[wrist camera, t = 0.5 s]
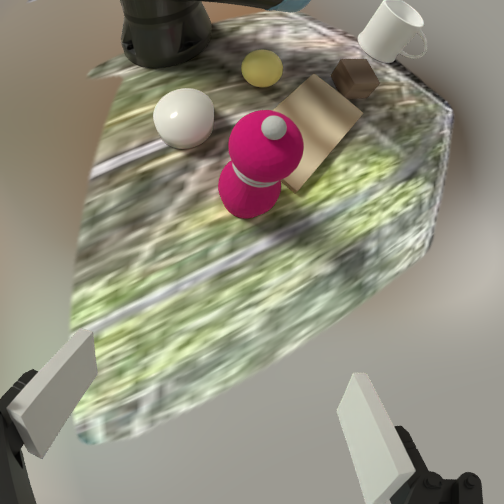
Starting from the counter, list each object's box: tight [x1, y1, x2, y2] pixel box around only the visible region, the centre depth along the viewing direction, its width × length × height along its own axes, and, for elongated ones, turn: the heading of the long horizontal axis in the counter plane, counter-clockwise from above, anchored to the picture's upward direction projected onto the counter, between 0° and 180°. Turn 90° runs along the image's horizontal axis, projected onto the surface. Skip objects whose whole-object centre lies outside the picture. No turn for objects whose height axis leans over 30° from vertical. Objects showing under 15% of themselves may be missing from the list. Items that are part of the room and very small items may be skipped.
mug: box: [358, 0, 428, 63], centre depth 38 cm, size 12×8×12 cm
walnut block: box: [331, 59, 380, 99], centre depth 40 cm, size 5×5×5 cm
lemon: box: [241, 49, 283, 87], centre depth 37 cm, size 6×6×6 cm
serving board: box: [272, 74, 363, 193], centre depth 40 cm, size 18×10×1 cm, turn 140°
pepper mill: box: [218, 110, 304, 218], centre depth 29 cm, size 7×7×20 cm
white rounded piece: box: [153, 88, 214, 149], centre depth 37 cm, size 8×8×4 cm
